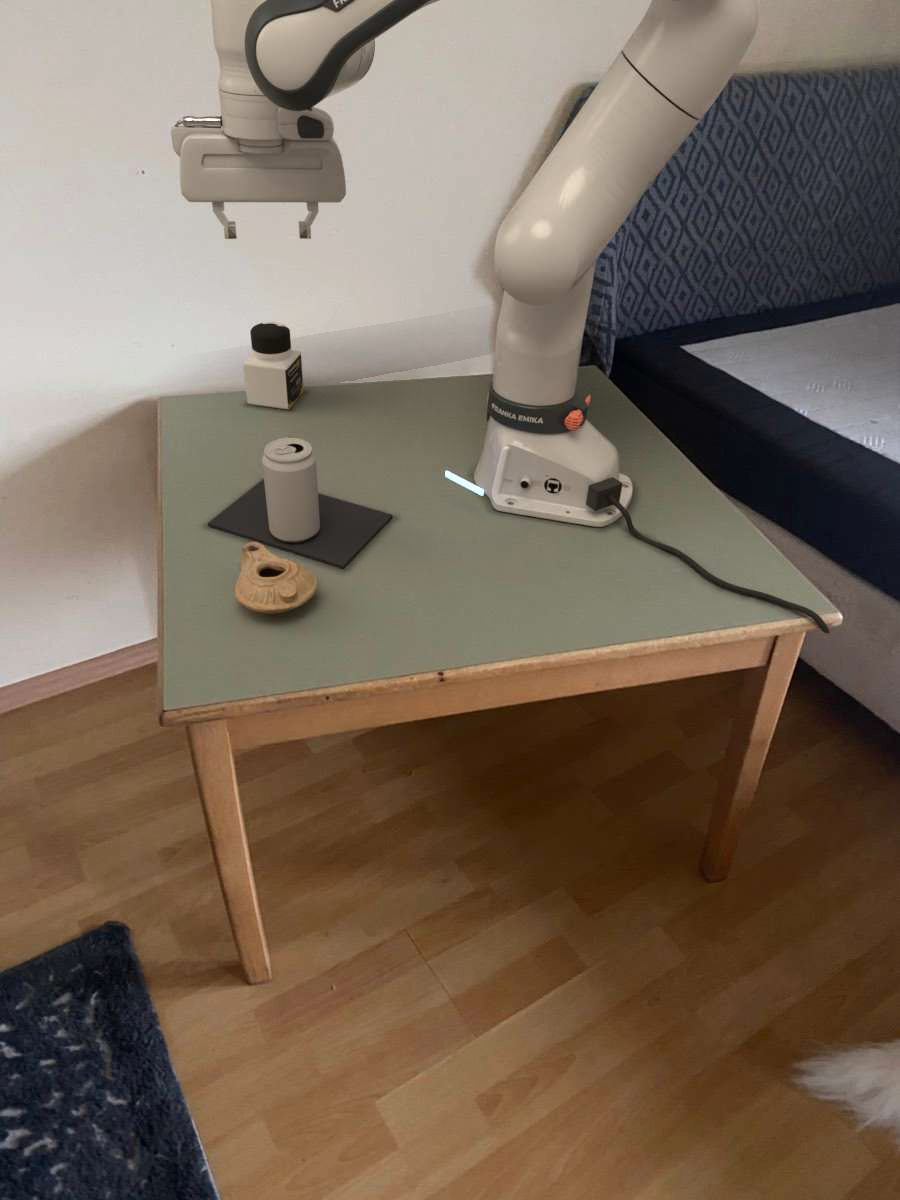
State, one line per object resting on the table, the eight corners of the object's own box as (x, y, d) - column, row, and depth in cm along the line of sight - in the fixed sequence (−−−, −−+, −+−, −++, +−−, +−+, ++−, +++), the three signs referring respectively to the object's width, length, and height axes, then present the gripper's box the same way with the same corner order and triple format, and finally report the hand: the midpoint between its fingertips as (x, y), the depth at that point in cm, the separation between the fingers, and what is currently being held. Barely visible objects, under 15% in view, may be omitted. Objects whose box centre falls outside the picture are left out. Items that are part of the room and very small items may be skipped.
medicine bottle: (289, 410, 139) (283, 337, 131) (246, 404, 140) (238, 332, 132) (304, 392, 144) (299, 320, 137) (263, 386, 145) (256, 315, 138)
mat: (392, 517, 116) (392, 514, 116) (343, 569, 106) (343, 565, 106) (265, 480, 122) (264, 477, 121) (208, 526, 112) (207, 523, 112)
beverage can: (329, 536, 111) (324, 452, 103) (282, 551, 108) (275, 466, 100) (306, 513, 115) (300, 430, 107) (261, 527, 112) (252, 443, 104)
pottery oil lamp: (283, 553, 108) (305, 517, 103) (306, 635, 102) (330, 601, 97) (214, 549, 103) (234, 510, 98) (234, 635, 97) (256, 599, 92)
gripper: (167, 120, 100) (184, 245, 109) (346, 124, 104) (348, 244, 112) (170, 110, 105) (186, 230, 113) (341, 114, 109) (343, 230, 117)
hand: (268, 237), depth 113 cm, fingers open, 8 cm apart
